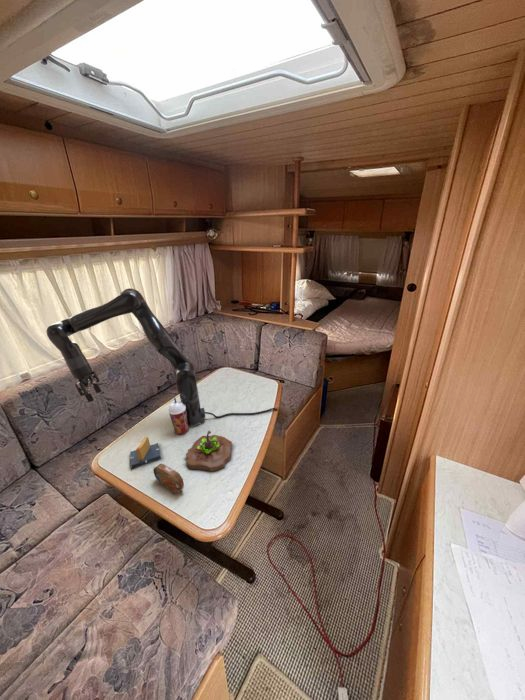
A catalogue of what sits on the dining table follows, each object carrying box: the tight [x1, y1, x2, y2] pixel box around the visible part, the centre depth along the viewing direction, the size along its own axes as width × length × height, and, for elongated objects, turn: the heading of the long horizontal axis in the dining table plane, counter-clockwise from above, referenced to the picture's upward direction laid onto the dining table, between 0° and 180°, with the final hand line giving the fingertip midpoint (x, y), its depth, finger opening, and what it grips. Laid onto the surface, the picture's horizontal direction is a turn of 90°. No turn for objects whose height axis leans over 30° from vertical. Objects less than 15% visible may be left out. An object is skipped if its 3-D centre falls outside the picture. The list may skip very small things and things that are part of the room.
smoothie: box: [167, 397, 189, 435], centre depth 135 cm, size 8×8×20 cm
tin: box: [153, 463, 185, 494], centre depth 107 cm, size 15×3×8 cm, turn 58°
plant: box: [185, 430, 233, 472], centre depth 122 cm, size 20×20×11 cm
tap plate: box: [129, 442, 162, 470], centre depth 123 cm, size 12×12×2 cm
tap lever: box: [135, 436, 151, 460], centre depth 121 cm, size 8×2×6 cm, turn 176°
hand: (95, 396), depth 126 cm, fingers open, 8 cm apart
